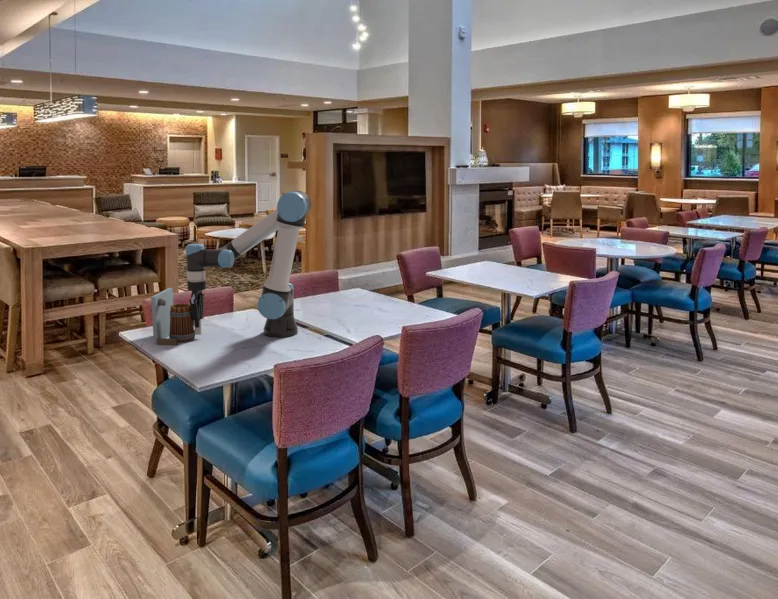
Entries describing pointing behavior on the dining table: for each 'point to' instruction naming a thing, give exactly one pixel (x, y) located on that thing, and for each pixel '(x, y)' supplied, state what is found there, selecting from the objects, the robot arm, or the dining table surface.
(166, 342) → the tan support feet
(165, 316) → the door
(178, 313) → the mug
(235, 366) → the dining table surface
